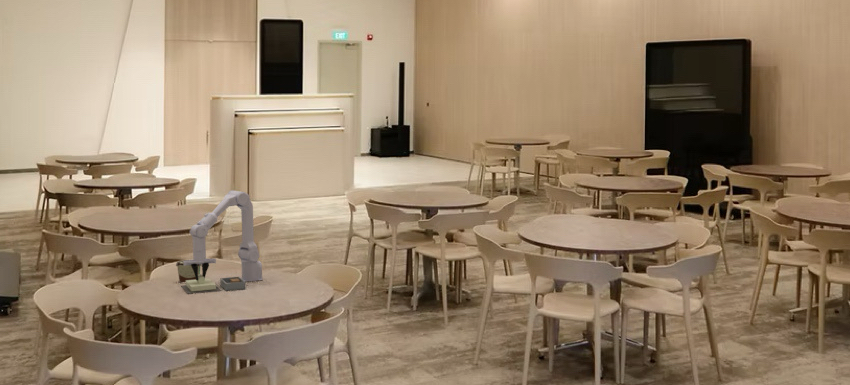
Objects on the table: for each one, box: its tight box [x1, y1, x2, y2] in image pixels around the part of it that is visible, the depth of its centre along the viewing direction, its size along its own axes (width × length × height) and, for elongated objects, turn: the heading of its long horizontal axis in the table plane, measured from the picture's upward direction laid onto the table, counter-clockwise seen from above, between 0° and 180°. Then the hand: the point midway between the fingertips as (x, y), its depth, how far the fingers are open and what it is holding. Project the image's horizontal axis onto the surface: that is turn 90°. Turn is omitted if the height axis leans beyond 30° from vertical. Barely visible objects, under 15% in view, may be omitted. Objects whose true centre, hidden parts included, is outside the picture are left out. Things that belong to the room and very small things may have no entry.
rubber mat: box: [180, 284, 222, 295], centre depth 430 cm, size 15×18×1 cm
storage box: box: [219, 276, 246, 292], centre depth 432 cm, size 9×13×4 cm
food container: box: [175, 259, 202, 283], centre depth 446 cm, size 12×6×10 cm, turn 84°
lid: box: [185, 273, 217, 292], centre depth 430 cm, size 11×15×5 cm
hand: (200, 279), depth 430 cm, fingers closed on lid, 2 cm apart
